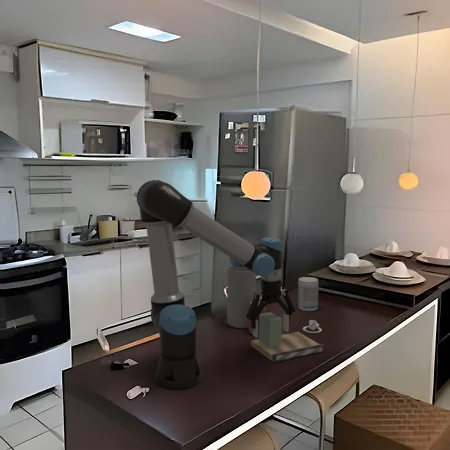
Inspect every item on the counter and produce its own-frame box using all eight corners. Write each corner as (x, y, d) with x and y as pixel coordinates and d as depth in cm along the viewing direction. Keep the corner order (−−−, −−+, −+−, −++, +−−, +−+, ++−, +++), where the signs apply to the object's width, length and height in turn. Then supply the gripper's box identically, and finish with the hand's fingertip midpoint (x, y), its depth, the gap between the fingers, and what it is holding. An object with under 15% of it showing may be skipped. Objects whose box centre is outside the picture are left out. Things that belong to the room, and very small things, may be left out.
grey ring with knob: (313, 325, 206) (314, 316, 206) (327, 331, 200) (327, 321, 199) (298, 329, 202) (299, 320, 201) (311, 335, 195) (312, 325, 195)
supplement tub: (321, 308, 228) (322, 279, 226) (310, 313, 221) (311, 282, 219) (305, 304, 235) (306, 275, 233) (293, 308, 228) (294, 279, 226)
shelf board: (274, 362, 167) (274, 355, 167) (250, 345, 183) (250, 338, 182) (324, 352, 177) (324, 344, 177) (297, 336, 192) (298, 329, 192)
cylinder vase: (261, 323, 207) (262, 268, 204) (243, 331, 198) (244, 273, 194) (239, 317, 215) (239, 263, 212) (221, 324, 206) (221, 268, 202)
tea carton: (281, 346, 177) (282, 318, 175) (269, 348, 175) (270, 320, 173) (270, 339, 184) (270, 312, 182) (259, 341, 182) (259, 314, 180)
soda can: (264, 336, 192) (264, 305, 190) (247, 335, 194) (247, 304, 192) (266, 330, 199) (267, 300, 197) (249, 328, 201) (250, 299, 199)
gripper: (246, 285, 167) (246, 342, 170) (304, 277, 178) (303, 331, 181) (237, 280, 174) (237, 335, 177) (293, 273, 184) (292, 324, 187)
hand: (270, 333), depth 179 cm, fingers open, 13 cm apart
